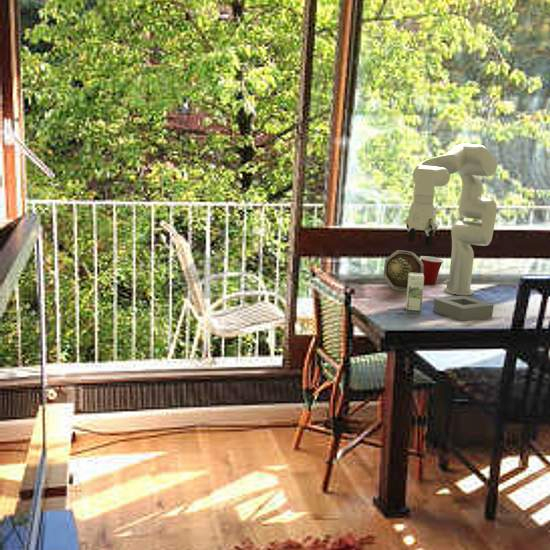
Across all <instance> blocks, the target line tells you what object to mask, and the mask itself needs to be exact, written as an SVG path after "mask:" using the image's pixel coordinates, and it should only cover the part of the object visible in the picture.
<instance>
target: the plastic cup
mask: <svg viewBox="0 0 550 550" xmlns="http://www.w3.org/2000/svg"><path fill="white" fill-rule="evenodd" d="M419 259H420V260H421V261H422V263H423V265H424V273H423V275H424V284H425V285H433V286H434V285H436V283H437V279H438V276H439V273H440V269H441V266H442V264H443V262H444V259H442V258H439V257H435V256H426V255H425V256H424V255H420V257H419ZM424 284H423V285H424Z"/></svg>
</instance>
